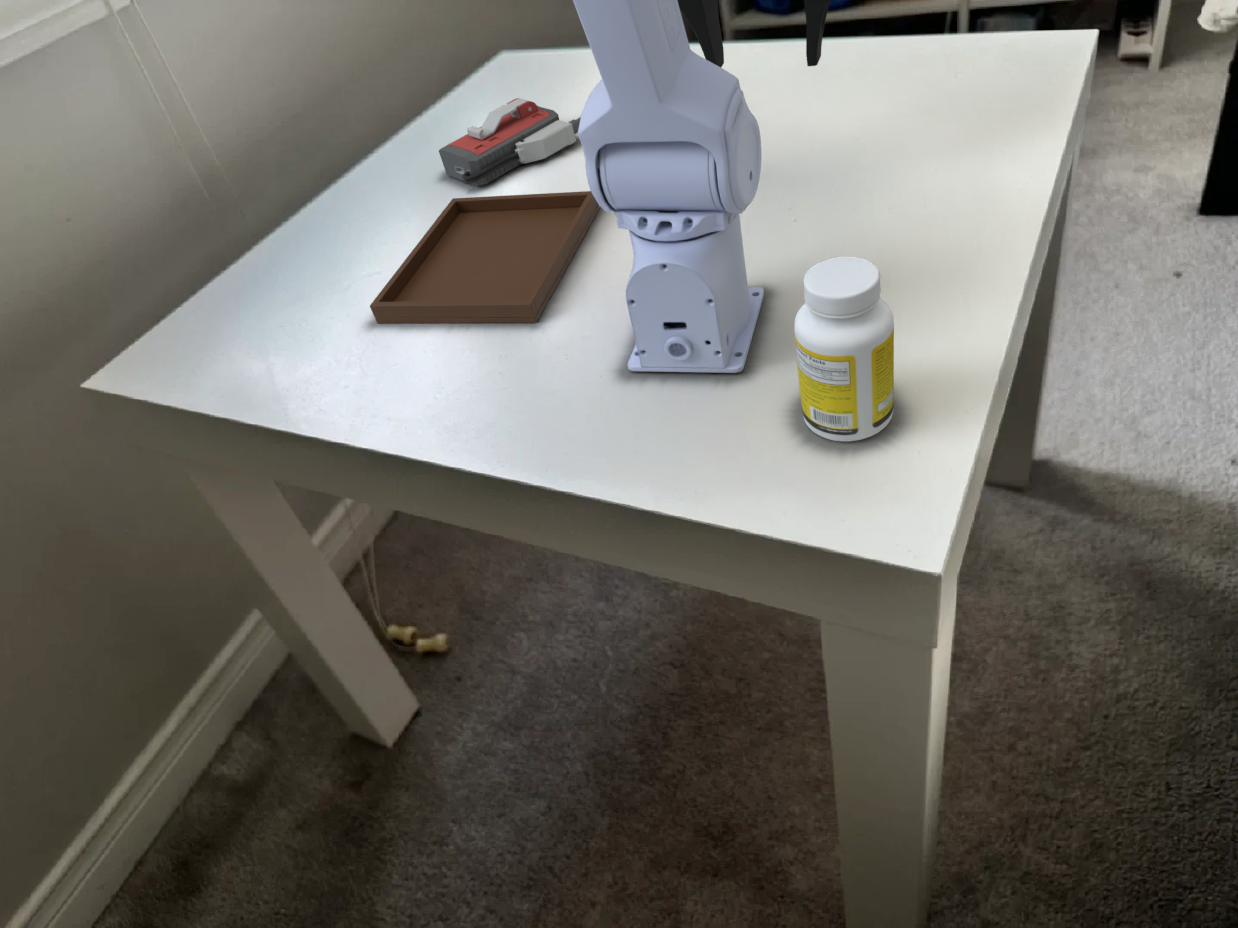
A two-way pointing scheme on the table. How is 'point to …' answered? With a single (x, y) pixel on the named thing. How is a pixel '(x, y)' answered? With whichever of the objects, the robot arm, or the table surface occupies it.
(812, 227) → the table surface
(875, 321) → the supplement bottle
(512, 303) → the tray
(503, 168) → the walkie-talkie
